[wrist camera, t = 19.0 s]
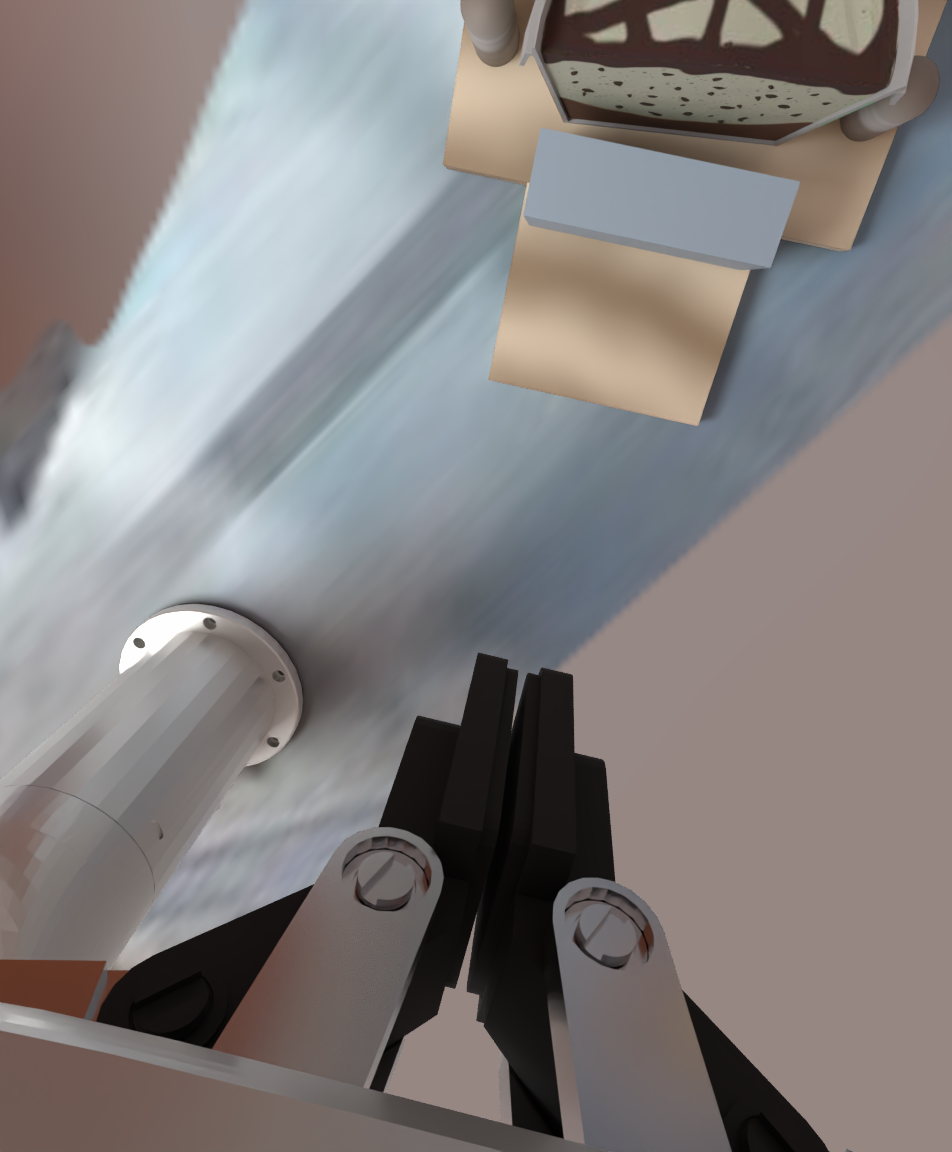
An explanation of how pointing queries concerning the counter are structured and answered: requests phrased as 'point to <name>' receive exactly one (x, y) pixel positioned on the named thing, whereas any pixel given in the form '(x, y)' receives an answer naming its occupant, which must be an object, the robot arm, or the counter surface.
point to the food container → (721, 63)
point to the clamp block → (657, 201)
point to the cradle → (630, 275)
